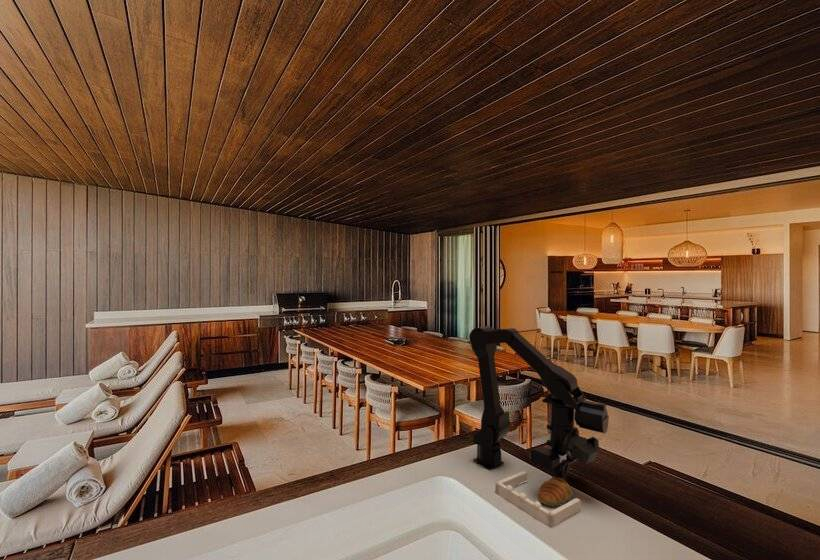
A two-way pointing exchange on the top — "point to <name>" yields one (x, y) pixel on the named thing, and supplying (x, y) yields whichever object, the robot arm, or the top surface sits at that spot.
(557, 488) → the pastry
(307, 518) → the top surface
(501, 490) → the frame
